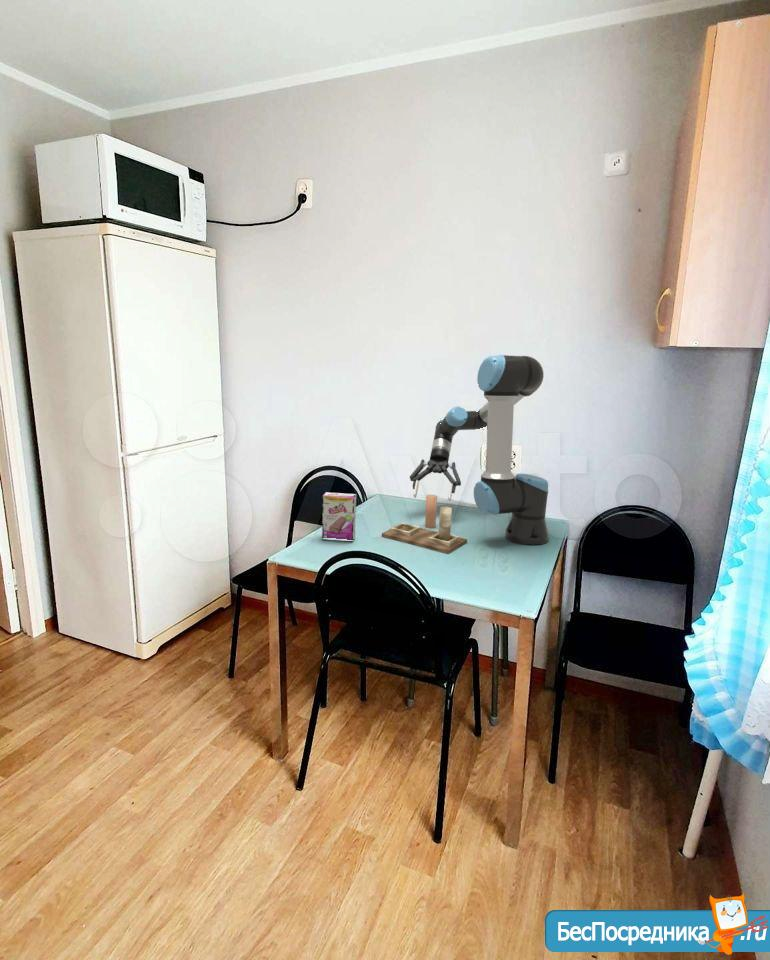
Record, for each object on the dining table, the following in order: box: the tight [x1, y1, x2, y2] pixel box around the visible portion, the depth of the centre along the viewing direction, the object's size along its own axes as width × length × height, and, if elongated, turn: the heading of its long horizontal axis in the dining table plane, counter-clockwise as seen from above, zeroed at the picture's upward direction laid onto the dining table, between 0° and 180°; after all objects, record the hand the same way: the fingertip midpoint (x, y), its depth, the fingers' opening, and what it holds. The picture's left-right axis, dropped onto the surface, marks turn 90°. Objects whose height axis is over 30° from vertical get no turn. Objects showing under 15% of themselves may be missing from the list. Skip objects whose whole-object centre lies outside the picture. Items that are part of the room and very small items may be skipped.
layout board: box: [381, 506, 468, 555], centre depth 198 cm, size 27×14×13 cm, turn 56°
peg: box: [424, 494, 438, 529], centre depth 212 cm, size 4×4×12 cm
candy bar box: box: [321, 491, 357, 541], centre depth 195 cm, size 11×5×16 cm, turn 84°
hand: (431, 497), depth 217 cm, fingers open, 13 cm apart
